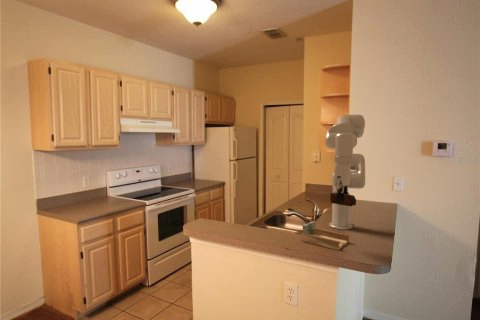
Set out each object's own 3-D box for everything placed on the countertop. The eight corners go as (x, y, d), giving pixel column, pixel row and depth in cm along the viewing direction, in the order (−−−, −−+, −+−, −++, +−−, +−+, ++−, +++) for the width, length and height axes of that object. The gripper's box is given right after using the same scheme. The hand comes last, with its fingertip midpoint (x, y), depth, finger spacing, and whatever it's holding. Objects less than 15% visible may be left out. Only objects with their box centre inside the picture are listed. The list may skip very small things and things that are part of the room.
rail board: (313, 234, 149) (313, 220, 148) (348, 242, 137) (349, 227, 137) (300, 240, 139) (301, 226, 138) (338, 250, 127) (338, 233, 127)
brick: (329, 203, 135) (330, 193, 134) (334, 201, 138) (334, 192, 137) (352, 207, 127) (352, 196, 127) (356, 205, 130) (356, 195, 129)
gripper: (341, 159, 140) (339, 196, 141) (328, 161, 127) (327, 202, 128) (357, 160, 136) (355, 198, 137) (346, 162, 122) (344, 205, 124)
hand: (342, 200), depth 132 cm, fingers closed on brick, 4 cm apart
